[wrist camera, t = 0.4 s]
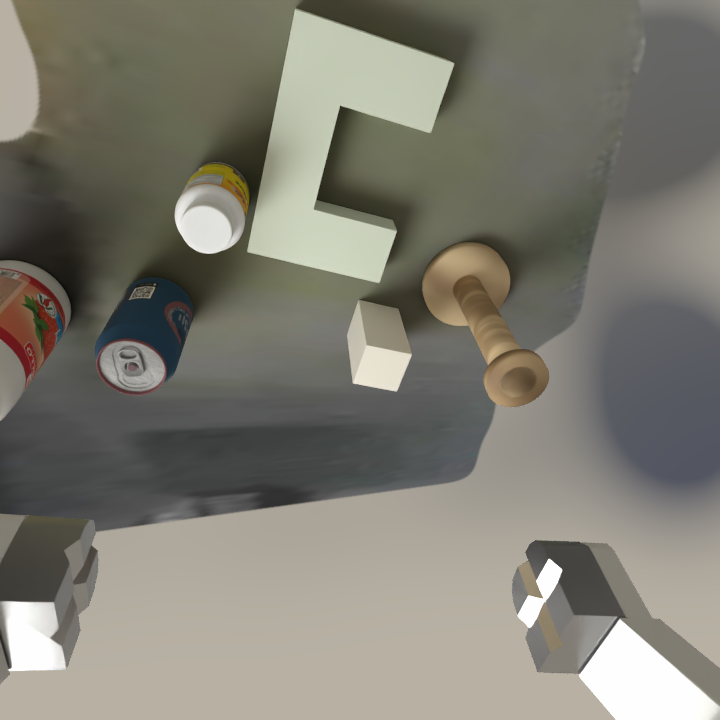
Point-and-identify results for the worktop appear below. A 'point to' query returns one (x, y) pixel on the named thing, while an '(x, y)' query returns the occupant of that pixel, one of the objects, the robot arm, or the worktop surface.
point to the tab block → (378, 346)
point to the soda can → (144, 336)
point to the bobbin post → (484, 318)
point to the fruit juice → (27, 325)
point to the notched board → (314, 133)
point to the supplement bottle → (213, 208)
